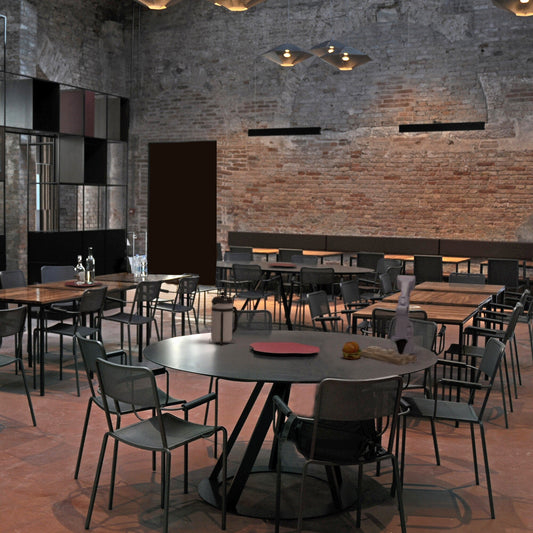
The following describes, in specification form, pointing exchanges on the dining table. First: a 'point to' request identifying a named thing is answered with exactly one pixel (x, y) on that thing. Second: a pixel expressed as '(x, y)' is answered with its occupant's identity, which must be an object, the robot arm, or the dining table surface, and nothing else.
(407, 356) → the three dot tile
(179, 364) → the dining table surface
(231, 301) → the coffee press
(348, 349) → the cheeseburger
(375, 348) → the one dot tile
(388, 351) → the two dot tile
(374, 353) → the tile board
